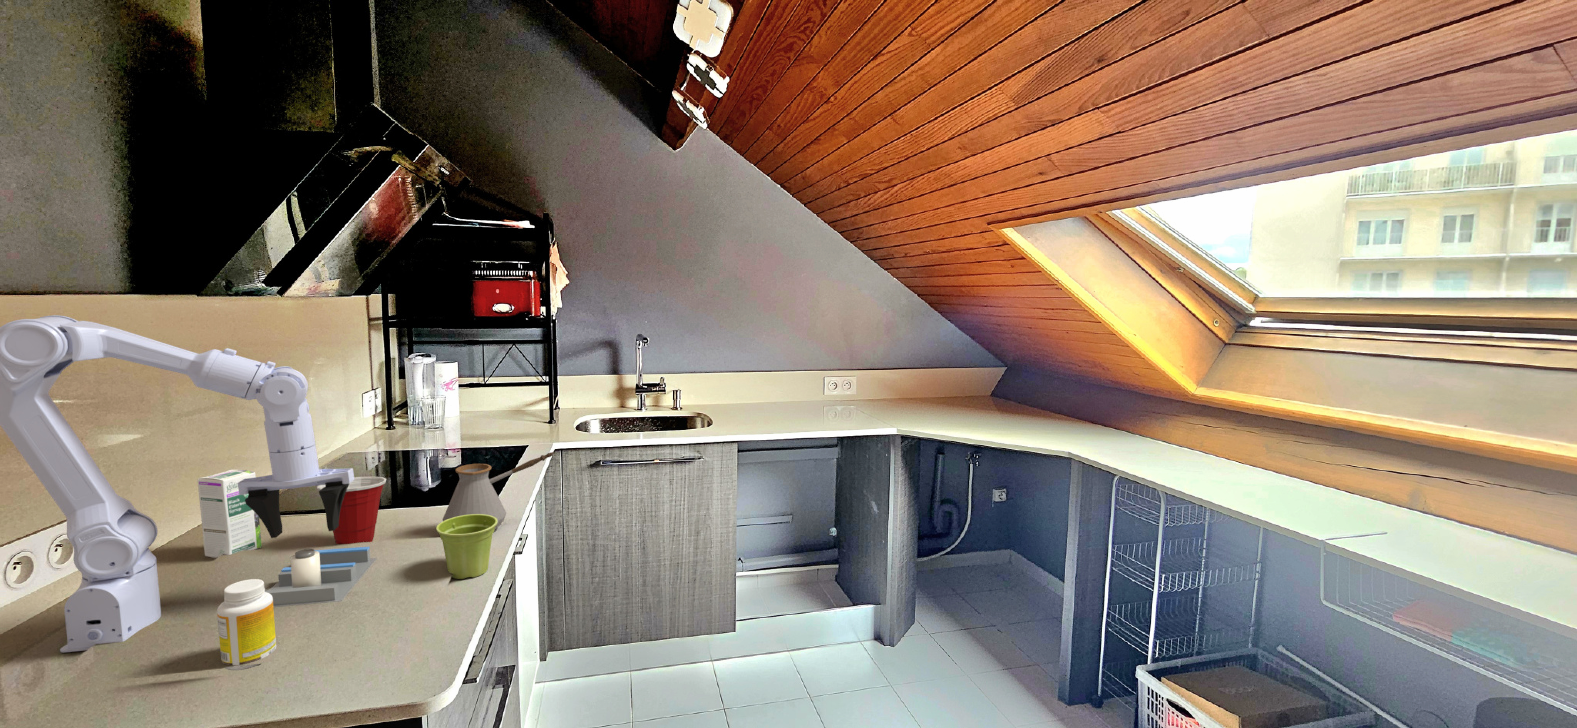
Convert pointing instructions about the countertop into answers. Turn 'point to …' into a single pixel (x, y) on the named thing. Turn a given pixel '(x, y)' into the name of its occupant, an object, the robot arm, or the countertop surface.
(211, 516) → the syrup box
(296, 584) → the grey-capped cream cylinder
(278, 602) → the grey and blue rack
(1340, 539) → the countertop surface
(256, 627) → the supplement bottle
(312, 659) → the countertop surface
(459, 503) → the coffee pot
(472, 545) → the plant pot
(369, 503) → the plastic cup
